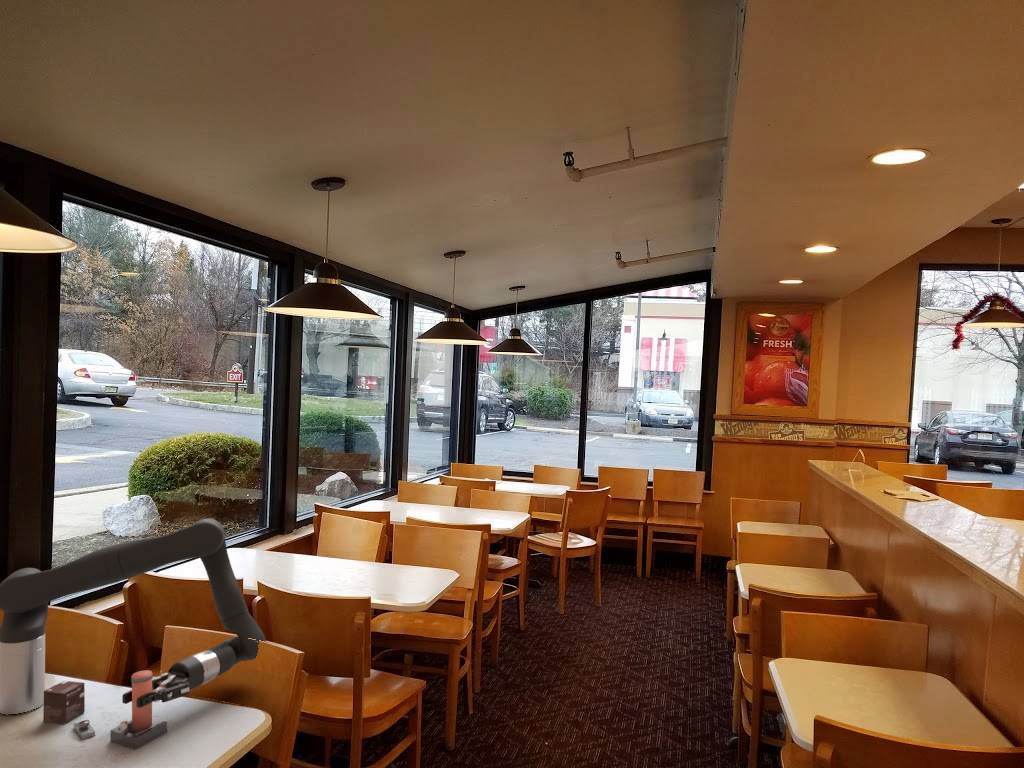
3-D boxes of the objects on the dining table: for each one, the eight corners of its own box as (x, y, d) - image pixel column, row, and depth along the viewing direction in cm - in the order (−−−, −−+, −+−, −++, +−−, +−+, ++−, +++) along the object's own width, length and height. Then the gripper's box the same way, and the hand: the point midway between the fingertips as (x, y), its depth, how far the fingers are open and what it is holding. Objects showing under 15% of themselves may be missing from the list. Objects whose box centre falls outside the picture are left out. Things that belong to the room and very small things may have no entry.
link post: (128, 726, 155) (128, 674, 155) (148, 720, 158) (148, 668, 158) (135, 733, 152) (134, 679, 152) (155, 726, 155) (155, 674, 155)
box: (64, 725, 159) (64, 693, 159) (42, 722, 160) (42, 691, 160) (85, 712, 165) (85, 682, 165) (64, 710, 166) (64, 679, 166)
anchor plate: (73, 728, 158) (73, 718, 158) (86, 724, 160) (86, 714, 160) (82, 739, 153) (82, 729, 153) (94, 735, 155) (95, 725, 155)
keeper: (108, 742, 152) (108, 719, 152) (142, 725, 159) (143, 703, 159) (133, 750, 149) (133, 727, 148) (167, 732, 156) (167, 711, 156)
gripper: (174, 651, 171) (108, 678, 155) (216, 661, 165) (152, 690, 149) (174, 680, 171) (109, 711, 155) (216, 692, 165) (152, 725, 149)
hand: (130, 701), depth 152 cm, fingers closed on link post, 4 cm apart
